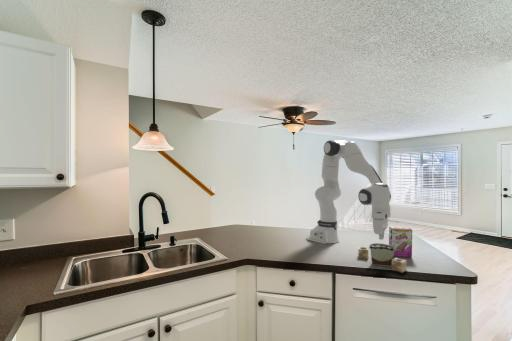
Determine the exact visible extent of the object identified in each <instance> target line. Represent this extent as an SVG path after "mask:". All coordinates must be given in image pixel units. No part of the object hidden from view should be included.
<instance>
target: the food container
mask: <svg viewBox="0 0 512 341" xmlns="http://www.w3.org/2000/svg"><path fill="white" fill-rule="evenodd" d="M368 249H369V251H370V258H371V265H372V266H375V265H376V266H382V267H383V266H384V267H391V268H392V259H394V256H393V251H394V252H395V250H394V247H392V246H390V245H389V244H385V243H371V244H369V247H368Z"/></svg>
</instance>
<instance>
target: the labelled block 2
mask: <svg viewBox="0 0 512 341" xmlns="http://www.w3.org/2000/svg"><path fill="white" fill-rule="evenodd" d="M407 263H408V261H407V259H403V258H401V257H395V258H394V257H393V259H392V267H391V270H392V271H395V272H397V273H398V272H399V273H404V272H406V271H407V270H408V269H407Z"/></svg>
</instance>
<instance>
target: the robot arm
mask: <svg viewBox="0 0 512 341" xmlns="http://www.w3.org/2000/svg"><path fill="white" fill-rule="evenodd" d="M323 152H324V155H323V158H322V169H321V179H322V180H323V185H322V186H320V187H318V188H317V189H316V190H315V192H314V196H315V199H316V200H317V203H318V206H319V210H320V213H319V214H320V219H319V220H318V221H317V222H316V223H317V225H316V226H314V227H313V228H312V229H310V231H309V235H308V236H306V240H308V241H311V242H315V243H319V244H324V245H325V244H326V245H327V244H337V243H339V242H340V240H339V236H338V220H337V218H338V217H337V216H338V215H337V214H338V213H337V208H336V207H335V203H334V201H336V200H338V199H339V198H340V197H341V195H342V190H341V188H340V184H339V169H340V168H339V167H340V165H339V164H340V160H341V159H342V158H343V159H344V162H345V165H346V167H347V168H348V169H349V170H350V171H351V172H353V173H356V174H359V175H362V176H363V177H366V178H367V179H368V181H369V184H370V186H369V187H365V188H361V189H360V190H359V192H358V195H357V196H358V201H359V202H360V204H362V205H364V206H371V219H372V227H373V228H372V229H373V232H374V234H376V235H378V239H379V240H380V241H383V240H384V237H385V231H386V230H387V229H388V228H389V222H388V220H389V218H391V206H390V205H391V204H390V202H391V198H392V195H391V194H392V193H391V191H390V187H389V185H388V184H387V183H383V181H382V179H381V177H380V175H378V173H377V171H376V169H375V168H374V166H373V165H371V164H370V163H369V162H368V161H367V159H366V158H365V156H364V154H363V152H362V150H361V148H360V146H359V145H358V144H357V143H356V142H355V141H349V140H340V139H339V140H334V139H332V140H331V139H330V140H327V141H325V143H324V145H323Z"/></svg>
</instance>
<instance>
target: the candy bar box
mask: <svg viewBox="0 0 512 341" xmlns="http://www.w3.org/2000/svg"><path fill="white" fill-rule="evenodd" d="M388 245H390V246H392V247H394V250H395V252H394V251H393V257H395V258H409V259H411V258H413V229H412V228H410V227H400V226H398V227H397V226H388Z"/></svg>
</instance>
